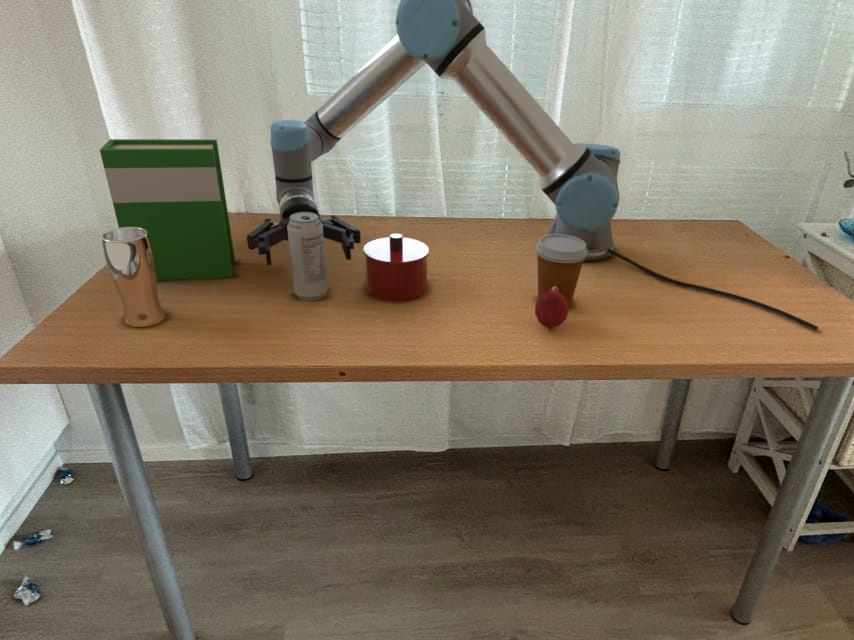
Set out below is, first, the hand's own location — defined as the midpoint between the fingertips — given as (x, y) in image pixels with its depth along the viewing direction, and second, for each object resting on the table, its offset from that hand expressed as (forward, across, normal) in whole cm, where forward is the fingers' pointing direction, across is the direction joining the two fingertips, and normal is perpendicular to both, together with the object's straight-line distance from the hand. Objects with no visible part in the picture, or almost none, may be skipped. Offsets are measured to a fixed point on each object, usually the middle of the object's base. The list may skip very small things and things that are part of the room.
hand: (309, 255), depth 112 cm
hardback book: (-18, +22, -9) cm, 30 cm away
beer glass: (+1, +28, -9) cm, 29 cm away
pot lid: (-3, -16, -2) cm, 16 cm away
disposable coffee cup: (+9, -44, -9) cm, 46 cm away
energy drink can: (-3, 0, -9) cm, 10 cm away
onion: (+18, -39, -9) cm, 44 cm away
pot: (-3, -16, -9) cm, 19 cm away
